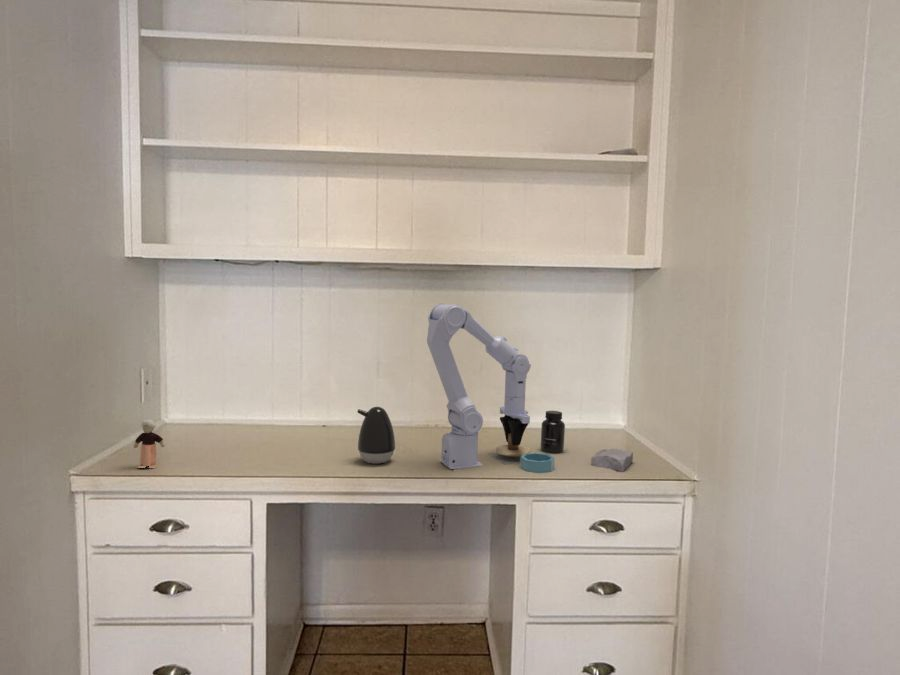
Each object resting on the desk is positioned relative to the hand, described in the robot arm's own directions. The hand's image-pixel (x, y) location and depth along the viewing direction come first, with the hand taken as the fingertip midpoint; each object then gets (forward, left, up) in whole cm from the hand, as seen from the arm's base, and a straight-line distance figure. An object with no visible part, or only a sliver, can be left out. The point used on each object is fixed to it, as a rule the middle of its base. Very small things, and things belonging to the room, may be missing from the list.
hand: (513, 443), depth 174 cm
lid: (0, 0, -2) cm, 2 cm away
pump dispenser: (-37, +9, -5) cm, 39 cm away
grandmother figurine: (-94, +21, -5) cm, 97 cm away
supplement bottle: (+15, +3, -5) cm, 16 cm away
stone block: (+24, -13, -5) cm, 27 cm away
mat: (0, 0, -4) cm, 4 cm away
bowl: (+2, -11, -4) cm, 12 cm away
